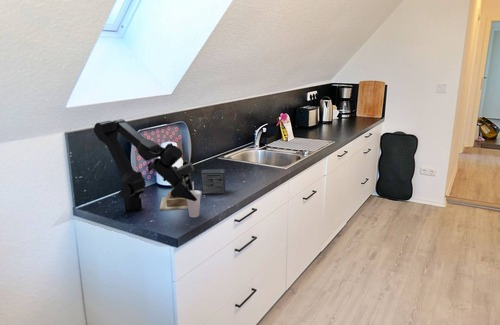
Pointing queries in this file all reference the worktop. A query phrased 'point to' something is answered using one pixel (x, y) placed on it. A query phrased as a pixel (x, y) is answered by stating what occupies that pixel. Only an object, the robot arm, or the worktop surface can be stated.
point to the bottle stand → (173, 203)
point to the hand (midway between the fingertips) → (196, 197)
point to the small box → (213, 182)
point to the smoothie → (194, 203)
